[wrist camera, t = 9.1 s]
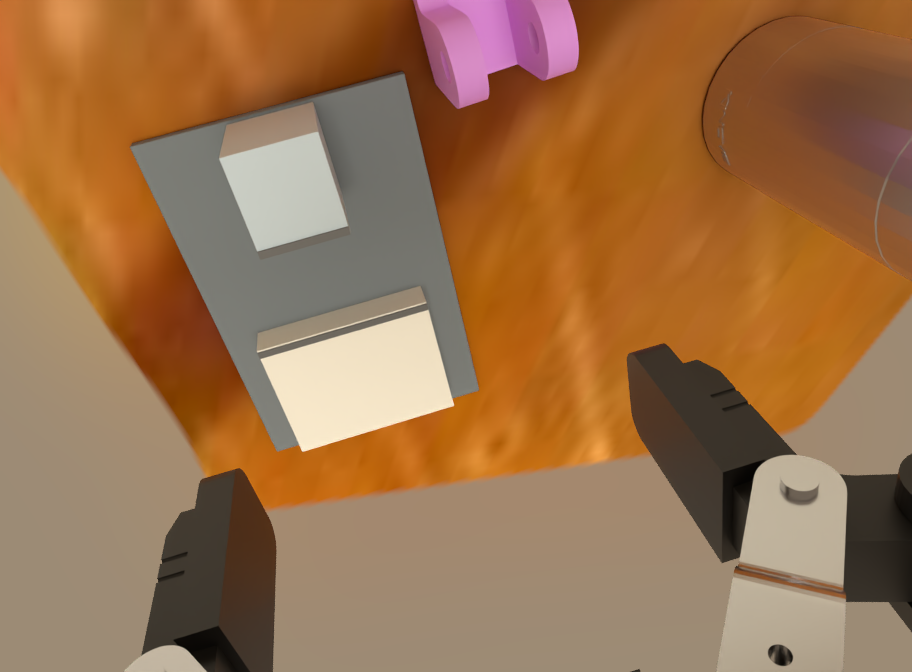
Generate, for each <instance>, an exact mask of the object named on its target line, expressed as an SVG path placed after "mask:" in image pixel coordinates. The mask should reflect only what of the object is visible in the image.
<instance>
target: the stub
mask: <svg viewBox="0 0 912 672" xmlns="http://www.w3.org/2000/svg"><path fill="white" fill-rule="evenodd" d="M219 160H220V162H221V165H222V167H223V169H224V172H225V174H226V177H227V179H228V182H229V184H230V186H231V189H232V191H233V194H234V196H235V199H236V201H237V203H238V206H239V208H240V211H241V213H242V216H243V218H244V220H245V223H246V225H247V228H248V230H249V233H250V235H251V237H252V240H253V242H254V245H255V247H256V249H257V253H258V255H259V258H260V260H262V259H266V258H269V257H273V256H276V255H280V254H283V253H287V252H291V251H294V250H298V249H301V248H305V247H308V246H312V245H315V244H319V243H322V242H326V241H329V240H333V239H337V238H340V237H344V236H347V235H351V232H350V228H349V223H348V219H347V214H346V210H345V205H344V201H343V196H342V192H341V189H340V186H339V183H338V180H337V176H336V173H335V170H334V167H333V164H332V161H331V157H330V154H329V151H328V148H327V145H326V142H325V138H324V135H323V132H322V129H321V126H320V123H319V119H318V116H317V113H316V110H315V107H314V104H313V102H310V103H306V104H303V105H299V106H295V107H292V108H288V109H284V110H280V111H277V112H273V113H269V114H265V115H262V116H258V117H254V118H251V119H247V120H243V121H239V122H236V123H232V124H228V125H227V126H226V130H225V134H224V139H223V143H222V147H221V152H220V156H219Z"/></svg>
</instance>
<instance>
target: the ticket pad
mask: <svg viewBox="0 0 912 672" xmlns="http://www.w3.org/2000/svg"><path fill="white" fill-rule="evenodd" d="M310 102H313V104H314V107H315V110H316V113H317V116H318V119H319V123H320V126H321V129H322V132H323V135H324V138H325V142H326V145H327V148H328V151H329V154H330V157H331V161H332V164H333V167H334V170H335V173H336V176H337V180H338V183H339V186H340V189H341V192H342V196H343V201H344V205H345V210H346V214H347V219H348V223H349V228H350V232H351V235H347V236H344V237H340V238H337V239H333V240H329V241H326V242H322V243H319V244H315V245H312V246H308V247H305V248H301V249H298V250H294V251H291V252H287V253H283V254H280V255H276V256H273V257H269V258H266V259H262V260H260V258H259V255H258V253H257V249H256V247H255V245H254V242H253V240H252V237H251V235H250V233H249V230H248V228H247V225H246V223H245V220H244V218H243V216H242V213H241V211H240V208H239V206H238V203H237V201H236V199H235V196H234V194H233V191H232V189H231V186H230V184H229V182H228V179H227V177H226V174H225V172H224V169H223V167H222V165H221V162H220V160H219V156H220V152H221V147H222V143H223V139H224V134H225V130H226V126H227V125H228V124H232V123H236V122H239V121H243V120H247V119H251V118H254V117H258V116H262V115H265V114H269V113H273V112H277V111H280V110H284V109H288V108H292V107H295V106H299V105H303V104H306V103H310ZM130 148H131V150H132V152H133V155H134V157H135V159H136V161H137V163H138V165H139V167H140V169H141V171H142V173H143V175H144V177H145V179H146V181H147V183H148V186H149V188H150V190H151V192H152V194H153V196H154V198H155V200H156V202H157V204H158V206H159V208H160V210H161V212H162V214H163V217H164V219H165V221H166V223H167V225H168V227H169V229H170V231H171V233H172V235H173V237H174V239H175V241H176V243H177V245H178V248H179V250H180V252H181V254H182V256H183V258H184V260H185V262H186V264H187V266H188V268H189V270H190V272H191V274H192V276H193V279H194V281H195V283H196V285H197V287H198V289H199V291H200V293H201V295H202V297H203V299H204V301H205V303H206V305H207V307H208V310H209V312H210V314H211V316H212V318H213V320H214V322H215V324H216V326H217V328H218V330H219V332H220V334H221V336H222V338H223V341H224V343H225V345H226V347H227V349H228V351H229V353H230V355H231V357H232V359H233V361H234V363H235V365H236V367H237V369H238V372H239V374H240V376H241V378H242V380H243V382H244V384H245V386H246V388H247V390H248V392H249V394H250V396H251V398H252V400H253V403H254V405H255V407H256V409H257V411H258V413H259V415H260V417H261V419H262V421H263V423H264V425H265V427H266V429H267V432H268V434H269V436H270V438H271V440H272V442H273V444H274V446H275V448H276V450H277V451H280V450H284V449H287V448H290V447H294V446H297V445H300V447H301V449H302V452H303V451H307V450H310V449H313V448H317V447H320V446H323V445H326V444H330V443H333V442H336V441H340V440H343V439H346V438H349V437H353V436H356V435H359V434H363V433H366V432H369V431H372V430H376V429H379V428H382V427H386V426H389V425H392V424H396V423H399V422H402V421H405V420H409V419H412V418H415V417H419V416H422V415H425V414H428V413H432V412H435V411H438V410H442V409H445V408H448V407H451V406H454V404H453V400H452V398H455V397H459V396H462V395H465V394H469V393H472V392H475V391H478V390H479V388H478V383H477V379H476V375H475V371H474V366H473V362H472V358H471V354H470V350H469V345H468V341H467V337H466V333H465V328H464V324H463V320H462V316H461V312H460V307H459V303H458V299H457V295H456V290H455V286H454V282H453V278H452V274H451V269H450V265H449V261H448V257H447V252H446V248H445V244H444V240H443V235H442V231H441V227H440V223H439V219H438V214H437V210H436V206H435V202H434V197H433V193H432V189H431V185H430V181H429V176H428V172H427V168H426V164H425V159H424V155H423V151H422V147H421V142H420V138H419V134H418V130H417V126H416V121H415V117H414V113H413V109H412V104H411V100H410V96H409V92H408V88H407V83H406V79H405V75H404V73H403V71H401V72H398V73H394V74H390V75H387V76H383V77H379V78H375V79H372V80H368V81H364V82H360V83H357V84H353V85H349V86H345V87H342V88H338V89H334V90H330V91H327V92H323V93H319V94H316V95H312V96H308V97H304V98H301V99H297V100H293V101H289V102H286V103H282V104H278V105H274V106H271V107H267V108H263V109H259V110H256V111H252V112H248V113H245V114H241V115H237V116H233V117H230V118H226V119H222V120H218V121H215V122H211V123H207V124H203V125H200V126H196V127H192V128H188V129H185V130H181V131H177V132H174V133H170V134H166V135H162V136H159V137H155V138H151V139H147V140H144V141H140V142H136V143H132V145H131V146H130Z"/></svg>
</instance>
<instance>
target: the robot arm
mask: <svg viewBox="0 0 912 672" xmlns="http://www.w3.org/2000/svg"><path fill="white" fill-rule="evenodd" d="M703 129H704V138H705V141H706V144H707V147H708V150H709V152H710V153H711V155H712V156H713V158H714V159H715V161H716V162H717V163H718V164H719V165H720V166H722V167H723V168H724V169H725V170H726V171H728V172H730V173H731V174H733V175H735V176H736V177H738V178H740V179H741V180H743V181H745V182H746V183H748V184H750V185H751V186H753V187H755V188H756V189H758V190H760V191H761V192H763V193H764V194H766V195H768V196H769V197H771V198H773V199H774V200H776V201H778V202H779V203H781V204H783V205H784V206H786V207H788V208H789V209H791V210H793V211H794V212H796V213H798V214H799V215H801V216H803V217H804V218H806V219H808V220H810V221H811V222H813V223H815V224H816V225H818V226H820V227H821V228H823V229H825V230H826V231H828V232H830V233H831V234H833V235H835V236H836V237H838V238H840V239H841V240H843V241H845V242H846V243H848V244H850V245H852V246H853V247H855V248H857V249H858V250H860V251H862V252H863V253H865V254H867V255H868V256H870V257H872V258H873V259H875V260H877V261H878V262H880V263H882V264H883V265H885V266H887V267H888V268H890V269H892V270H893V271H895V272H897V273H899V274H900V275H902V276H904V277H906V278H907V279H909V280H911V281H912V39H908V38H903V37H899V36H894V35H889V34H885V33H880V32H875V31H871V30H866V29H862V28H858V27H854V26H849V25H844V24H839V23H835V22H830V21H825V20H821V19H816V18H811V17H807V16H789V17H785V18H782V19H778V20H774V21H772V22H770V23H768V24H766V25H764V26H762V27H760V28H758V29H756V30H755V31H754V32H752V33H751V34H750V35H748V36H747V37H746V38H744V39H743V40H742V41H741V42H740V43H739V44H738V45H737V46H736V47H735V48H734V49H733V50H732V51H731V52H730V53H729V55H728V56H727V58H726V59H725V60H724V62H723V63H722V65H721V66H720V68H719V69H718V71H717V73H716V75H715V77H714V79H713V81H712V83H711V85H710V88H709V91H708V94H707V98H706V101H705V105H704V115H703ZM627 368H628V379H629V390H630V401H631V411H632V416H633V420H634V423H635V426H636V429H637V431H638V434H639V436H640V438H641V439H642V441H643V443H644V444H645V446H646V447H647V449H648V450H649V452H650V453H651V455H652V456H653V458H654V459H655V461H656V462H657V464H658V466H659V467H660V469H661V470H662V472H663V473H664V475H665V476H666V478H667V479H668V481H669V483H670V484H671V486H672V487H673V489H674V490H675V492H676V493H677V495H678V496H679V498H680V499H681V501H682V503H683V504H684V506H685V507H686V509H687V510H688V512H689V513H690V515H691V516H692V518H693V519H694V521H695V522H696V524H697V526H698V527H699V528H700V530H701V532H702V533H703V535H704V536H705V538H706V539H707V541H708V542H709V544H710V546H711V547H712V549H713V550H714V551H715V553H716V555H717V556H718V558H719V559H720V561H721V562H722V563H724V562H727V561H730V560H733V559H736V558H739V557H740V561H739V565H738V566H736V567H735V570H734V575H733V580H732V585H731V591H730V596H729V602H728V608H727V613H726V619H725V624H724V631H723V636H722V641H721V647H720V653H719V658H718V664H717V670H716V672H843V668H844V642H845V640H844V639H845V616H846V615H845V614H846V602H889V603H890V604H891V605H892V607H893V608H894V610H895V611H896V612H897V614H898V615H899V616H900V617H901V619H902V620H903V621H904V623H905V624H906V625H907V627H908V628H909V629H910V630H911V632H912V454H911V455H909V456H907V457H906V458H905V459H904V460H903V461H902V463H901V465H900V468H899V472H898V474H892V475H891V474H890V475H862V476H861V475H860V476H851V475H840V474H839V473H838V472H837V471H836V470H834V469H833V468H832V467H831V466H829V465H827V464H825V463H824V462H821V461H819V460H817V459H814V458H811V457H807V456H801V455H797V454H796V453H795V452H794V451H793V450H792V449H791V448H790V447H789V446H788V445H787V444H786V443H785V442H784V440H783V439H782V438H781V437H780V436H779V435H778V434H777V433H776V432H775V431H774V430H773V428H772V427H771V426H770V425H769V424H768V423H767V422H766V421H765V420H764V419H763V418H762V416H761V415H760V414H759V413H758V412H757V411H756V410H755V409H754V408H753V407H752V406H751V404H750V405H749V404H748V402H747V400H746V399H745V398H744V397H743V396H742V395H741V394H740V392H739V391H736V390H735V387H734V386H733V385H732V384H731V383H730V382H729V380H728V379H727V378H726V377H725V376H724V375H723V374H722V373H721V372H720V371H719V370H717V369H715V368H713V367H711V366H709V365H707V364H705V363H703V362H701V361H699V360H694V361H691V362H687V363H684V364H683V363H682V362H681V361H680V359H679V358H678V357H677V356H676V355H675V353H674V352H673V351H672V350H671V349H670V348H669V347H668V346H667V345H666V344H659V345H656V346H653V347H649V348H646V349H642V350H639V351H636V352H632V353H629V354H628V356H627ZM161 560H162V564H160V569H159V573H158V578H157V579H158V583H156V588H155V592H154V597H153V602H152V607H151V612H150V617H149V622H148V627H147V631H146V636H145V641H144V646H143V651H142V655H141V656H140V657H139V658H137V659H136V660H135V661H134V662H132V663H131V664H130V666H128V667H127V668H126V669H125V670H124V672H273V645H274V644H273V643H274V612H275V577H276V576H275V575H276V540H275V535H274V531H273V527H272V524H271V521H270V519H269V517H268V515H267V513H266V512H265V510H264V508H263V506H262V504H261V502H260V500H259V499H258V497H257V495H256V493H255V491H254V489H253V487H252V486H251V484H250V482H249V480H248V478H247V476H246V475H245V473H244V472H243V471H242V470H241V469H240V468H238V469H235V470H231V471H228V472H224V473H221V474H218V475H214V476H211V477H208V478H204V479H202V480H201V481H200V484H199V489H198V494H197V500H196V506H195V509H192V510H188V511H185V512H182V513H180V515H179V517H178V518H177V520H176V521H175V523H174V524H173V526H172V528H171V529H170V531H169V532H168V534H167V536H166V539H165V544H164V549H163V554H162V559H161ZM632 672H640V670H639V669H638V670H635V671H632Z"/></svg>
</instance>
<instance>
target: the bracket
mask: <svg viewBox="0 0 912 672" xmlns="http://www.w3.org/2000/svg"><path fill="white" fill-rule="evenodd" d="M413 1H414V5H415V9H416V13H417V16H418V20H419V24H420V28H421V32H422V35H423V39H424V43H425V47H426V50H427V54H428V58H429V62H430V65H431V69H432V73H433V77H434V80H435V84H436V85H437V87H438V88H439V89H440V90H441V91H442V92H443V93H444V95H445V96H446V97H447V98H448V99H449V100H450V101H451V102H452V104H453V105H454V106H455V107H456V108H457V109H459V108H462V107H465V106H468V105H471V104H474V103H477V102H480V101H483V100H486V99H488V97H489V83H488V76H487V74H490V73H493V72H496V71H499V70H502V69H505V68H508V67H511V66H514V65H517V64H518V65H520V66H521V67H523V68H524V69H526V70H527V71H529V72H530V73H532V74H533V75H535V76H536V77H538V78H539V79H541V80H543V81H544V80H547V79H550V78H553V77H556V76H559V75H562V74H565V73H568V72H571V71H574V70H575V69H576V67H577V63H578V56H579V46H578V36H577V30H576V25H575V21H574V17H573V13H572V10H571V7H570V5H569V2H568V0H413Z"/></svg>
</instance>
